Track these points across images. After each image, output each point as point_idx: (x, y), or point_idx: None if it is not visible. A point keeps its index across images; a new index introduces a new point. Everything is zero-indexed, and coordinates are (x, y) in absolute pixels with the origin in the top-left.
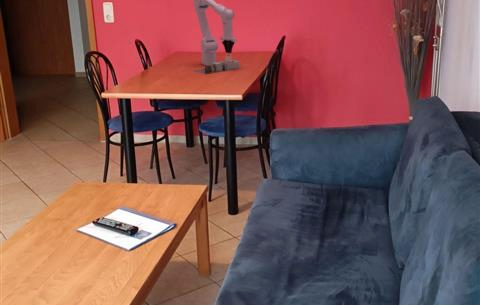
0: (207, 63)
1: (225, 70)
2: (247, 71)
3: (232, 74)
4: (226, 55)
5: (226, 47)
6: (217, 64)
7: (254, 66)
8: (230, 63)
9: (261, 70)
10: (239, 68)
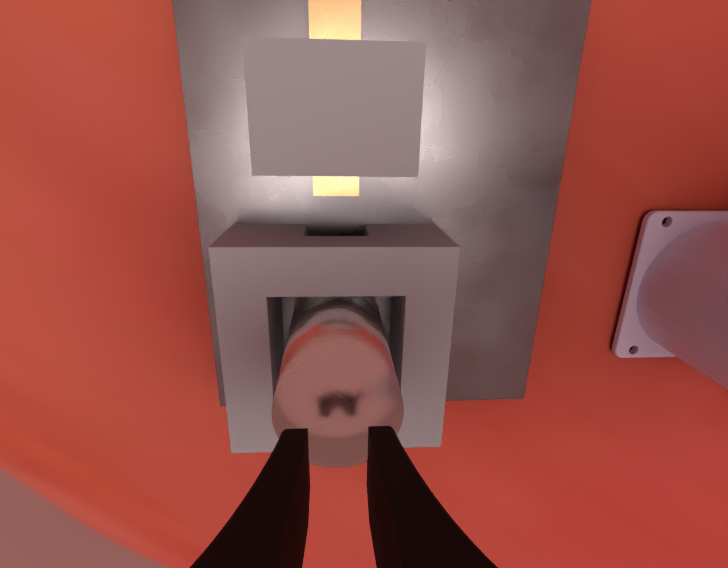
0: (725, 236)
1: (226, 183)
2: (118, 397)
3: (50, 166)
4: (332, 372)
5: (388, 540)
6: (245, 54)
7: (306, 564)
8: (217, 305)
9: (77, 512)
10: (223, 383)
